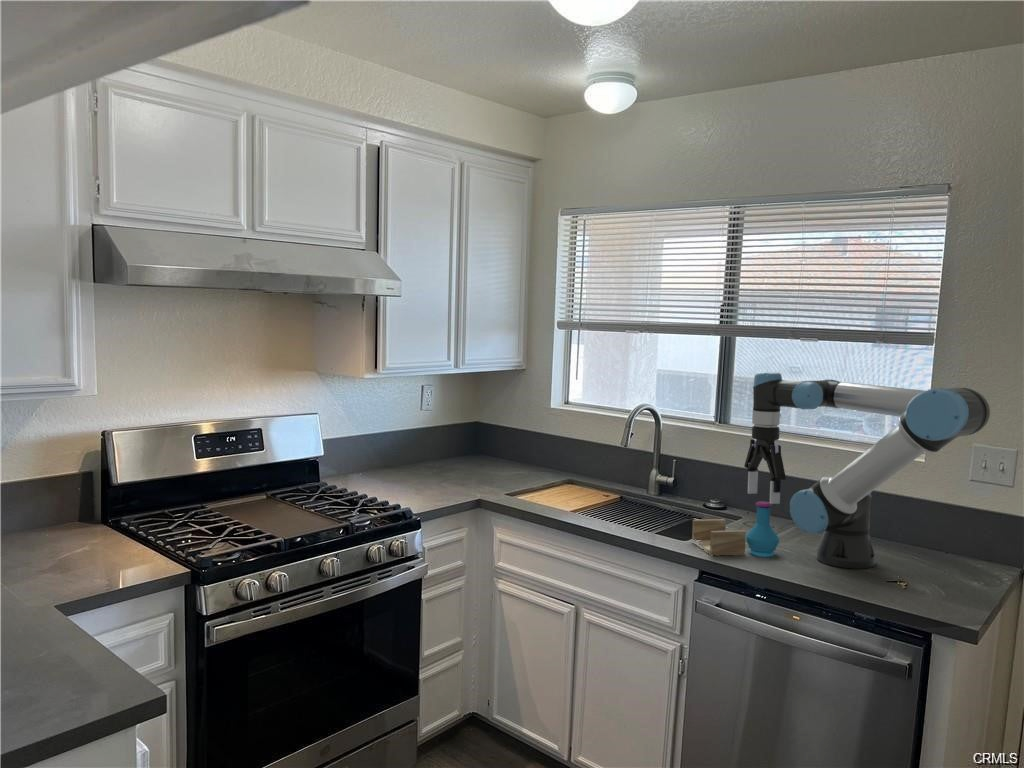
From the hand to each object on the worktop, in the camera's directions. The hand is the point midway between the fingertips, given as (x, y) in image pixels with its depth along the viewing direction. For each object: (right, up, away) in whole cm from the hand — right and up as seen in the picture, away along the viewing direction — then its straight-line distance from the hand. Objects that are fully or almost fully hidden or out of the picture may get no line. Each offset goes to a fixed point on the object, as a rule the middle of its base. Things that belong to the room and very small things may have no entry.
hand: (763, 498), depth 219 cm
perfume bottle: (0, -16, +1) cm, 16 cm away
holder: (-12, -16, +5) cm, 20 cm away
